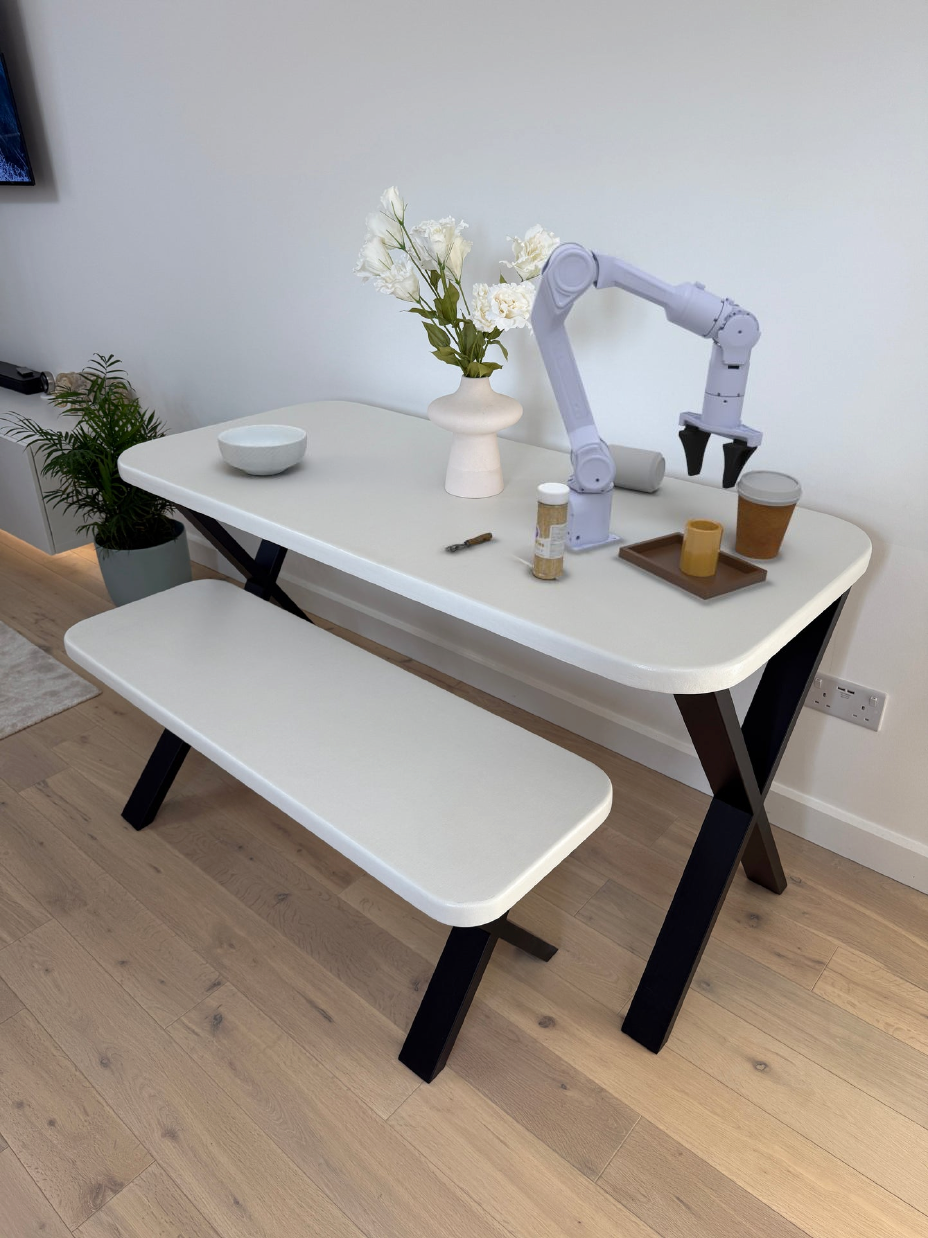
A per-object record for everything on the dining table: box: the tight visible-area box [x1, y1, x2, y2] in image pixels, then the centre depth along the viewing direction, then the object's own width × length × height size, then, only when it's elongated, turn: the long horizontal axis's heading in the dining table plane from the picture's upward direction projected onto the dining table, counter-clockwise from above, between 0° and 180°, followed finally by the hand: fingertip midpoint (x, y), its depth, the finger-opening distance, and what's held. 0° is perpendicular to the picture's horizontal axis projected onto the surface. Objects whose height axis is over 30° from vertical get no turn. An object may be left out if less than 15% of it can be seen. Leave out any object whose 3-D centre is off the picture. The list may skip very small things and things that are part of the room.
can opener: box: [445, 532, 493, 552], centre depth 134 cm, size 9×2×1 cm, turn 125°
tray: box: [618, 531, 768, 601], centre depth 127 cm, size 13×18×2 cm
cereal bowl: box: [217, 424, 308, 476], centre depth 165 cm, size 17×17×7 cm
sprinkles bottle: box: [532, 482, 570, 580], centre depth 122 cm, size 5×5×14 cm
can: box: [607, 443, 666, 494], centre depth 159 cm, size 8×8×12 cm
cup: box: [679, 518, 724, 577], centre depth 125 cm, size 5×5×7 cm
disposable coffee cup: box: [734, 469, 804, 561], centre depth 130 cm, size 10×10×12 cm
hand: (710, 480), depth 132 cm, fingers open, 6 cm apart
